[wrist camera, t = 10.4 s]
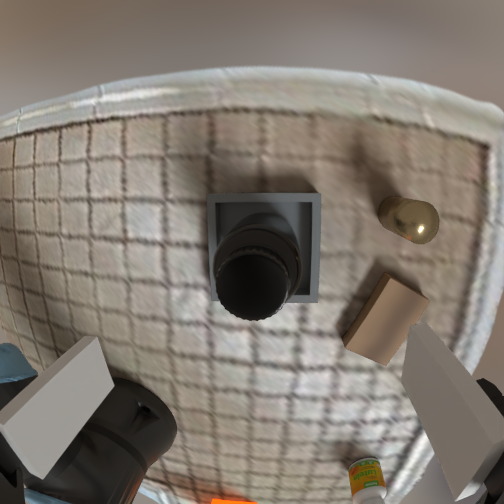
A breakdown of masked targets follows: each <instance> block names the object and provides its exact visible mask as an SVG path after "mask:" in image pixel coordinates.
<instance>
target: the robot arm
mask: <svg viewBox="0 0 504 504" xmlns="http://www.w3.org/2000/svg"><path fill="white" fill-rule="evenodd" d="M37 374H38V372H37V371H36V370H35V369H33V368H32V366H31V365H30V364H29V362H28V361H27V359H26V358H25V356H24V355H23V354H22V352H21V351H20V349H19V348H18V347H17V346H15V345H14V344H11V343H3V344H0V504H25V500H26V501H27V502H28V503H29V504H132V502H133V500H134V498H135V496H136V494H137V491H138V489H139V487H140V485H141V483H142V480H143V478H144V476H145V474H146V472H147V470H148V468H149V467H150V466H151V465H152V464H153V463H155V462H156V461H157V460H158V459H159V458H160V457H161V456H162V455H163V454H164V453H165V452H167V451H168V450H169V449H170V447H171V446H172V444H173V442H174V439H175V437H176V434H177V425H176V422H175V419H174V417H173V415H172V414H171V412H170V411H169V409H168V408H167V407H166V406H165V404H164V403H163V402H162V401H161V400H159V399H158V398H157V397H156V396H155V395H153V394H152V393H151V392H149V391H148V390H146V389H145V388H143V387H141V386H139V385H137V384H135V383H133V382H131V381H128V380H125V379H121V378H114V377H111V375H110V373H109V370H108V367H107V364H106V361H105V359H104V356H103V353H102V350H101V347H100V343H99V340H98V337H94V336H84V337H83V338H82V339H80V340H79V341H78V342H77V343H76V344H75V345H73V346H72V347H71V348H70V349H69V350H68V351H66V352H65V353H64V354H63V355H62V356H61V357H60V358H58V359H57V360H56V361H55V362H54V363H53V364H51V365H50V366H49V367H48V368H47V369H46V370H45V371H44V372H42V373H41V374H40V375H39V376H38V375H37ZM401 383H402V385H403V387H404V388H405V390H406V392H407V394H408V396H409V399H410V401H411V403H412V405H413V407H414V409H415V411H416V413H417V415H418V417H419V419H420V421H421V423H422V426H423V428H424V430H425V432H426V434H427V436H428V439H429V441H430V443H431V445H432V447H433V450H434V452H435V454H436V457H437V459H438V461H439V463H440V466H441V468H442V471H443V473H444V475H445V478H446V480H447V482H448V485H449V488H450V490H451V493H452V495H453V498H454V500H455V501H458V500H460V499H462V498H465V497H467V496H470V495H472V494H474V493H476V492H477V491H478V489H479V488H480V487H481V485H482V484H483V483H484V484H485V486H486V488H487V490H486V491H485V493H484V494H483V495H482V496H481V497H480V499H479V500H478V501H477V502H476V504H504V396H502V393H501V392H500V391H499V390H498V388H497V387H496V386H495V385H494V384H492V383H491V382H489V381H487V380H486V379H484V378H482V379H479V380H477V381H475V379H474V378H473V377H472V376H471V375H470V373H469V372H468V371H467V370H466V368H465V367H464V366H463V365H462V364H461V362H460V361H459V360H458V359H457V358H456V356H455V355H454V354H453V353H452V352H451V350H450V349H449V348H448V347H447V346H446V345H445V344H444V342H443V341H442V340H441V339H440V338H439V337H438V336H437V334H436V333H435V332H434V331H433V330H432V329H431V328H430V327H429V325H428V324H427V323H421V324H415V325H409V333H408V340H407V347H406V354H405V360H404V366H403V371H402V377H401ZM23 483H24V484H25V485H26V488H24V485H23Z"/></svg>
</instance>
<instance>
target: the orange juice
mask: <svg viewBox="0 0 504 504" xmlns="http://www.w3.org/2000/svg"><path fill="white" fill-rule="evenodd" d="M211 504H257V503H254V502H240V501H229V500H220V499H212V503H211Z"/></svg>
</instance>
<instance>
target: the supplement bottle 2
mask: <svg viewBox="0 0 504 504" xmlns="http://www.w3.org/2000/svg"><path fill="white" fill-rule="evenodd" d="M348 472H349V479H350V486H351V493H352V500H353V503H354V504H385V502H384V499H383V498H384V497H385V495H386V486H385V482H384V478H383V474H382V470H381V466H380V463H379V461H378V460H377V459H375V458H363V459H360V460H358V461H356V462H354V463H353V464H352V465H351V466H350V467H349V470H348Z"/></svg>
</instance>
